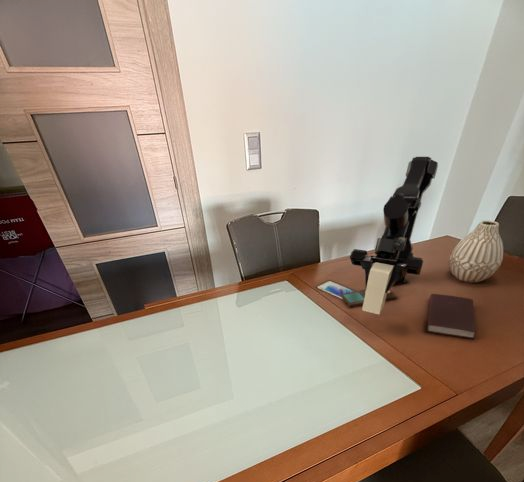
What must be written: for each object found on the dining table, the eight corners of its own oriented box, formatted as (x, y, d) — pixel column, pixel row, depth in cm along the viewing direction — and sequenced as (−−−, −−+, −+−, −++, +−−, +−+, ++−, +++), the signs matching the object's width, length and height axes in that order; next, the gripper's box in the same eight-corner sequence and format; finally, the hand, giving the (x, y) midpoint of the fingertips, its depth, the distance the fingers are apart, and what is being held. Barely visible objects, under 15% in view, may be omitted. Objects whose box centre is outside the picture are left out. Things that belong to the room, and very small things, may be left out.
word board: (383, 288, 112) (383, 284, 111) (394, 299, 106) (395, 294, 105) (340, 296, 110) (340, 292, 109) (349, 307, 104) (350, 303, 103)
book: (424, 331, 91) (428, 323, 89) (428, 300, 104) (431, 291, 102) (473, 340, 86) (477, 331, 84) (470, 306, 99) (474, 298, 97)
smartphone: (329, 280, 120) (360, 293, 110) (329, 282, 120) (360, 295, 111) (316, 286, 116) (348, 300, 107) (316, 288, 117) (347, 302, 107)
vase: (467, 265, 121) (488, 212, 109) (503, 282, 110) (530, 225, 97) (434, 273, 118) (451, 220, 106) (467, 291, 107) (490, 234, 94)
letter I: (367, 302, 92) (375, 262, 83) (383, 306, 90) (394, 265, 81) (361, 310, 89) (370, 269, 80) (379, 314, 87) (389, 273, 78)
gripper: (355, 219, 81) (338, 275, 81) (432, 226, 73) (412, 288, 73) (360, 238, 91) (345, 288, 91) (428, 246, 83) (411, 300, 83)
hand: (375, 291), depth 84 cm, fingers closed on letter I, 5 cm apart
